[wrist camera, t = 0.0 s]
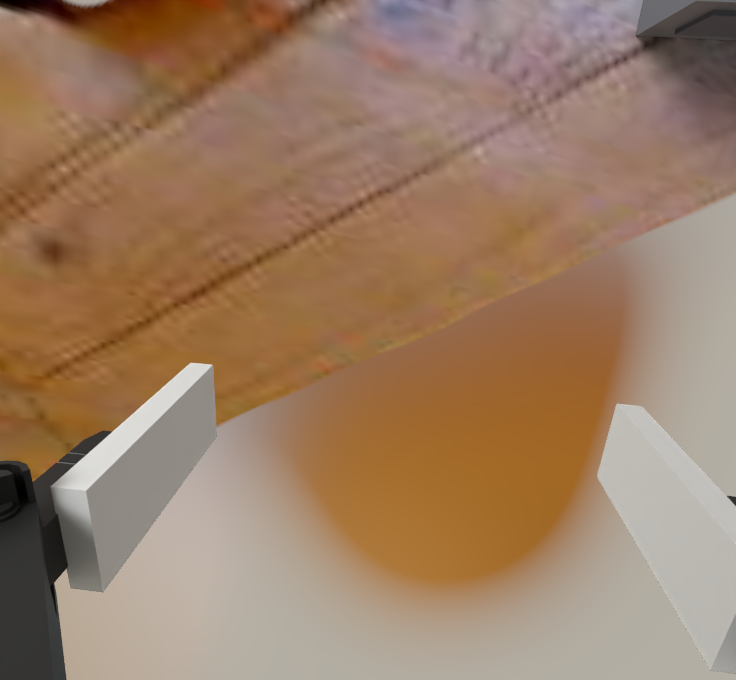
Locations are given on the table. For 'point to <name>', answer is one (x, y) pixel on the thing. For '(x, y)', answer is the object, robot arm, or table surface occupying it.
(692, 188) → the table surface
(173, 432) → the robot arm
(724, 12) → the grey box with knob
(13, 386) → the table surface
